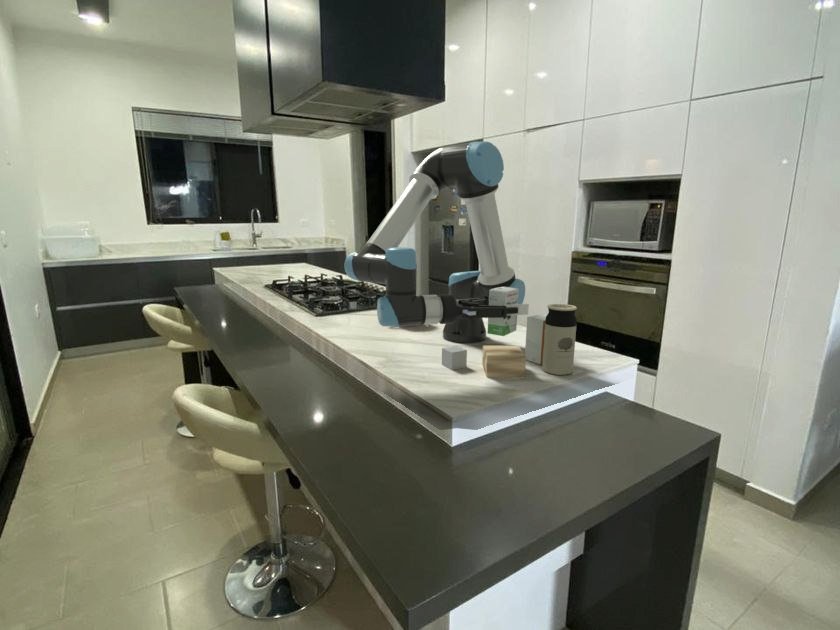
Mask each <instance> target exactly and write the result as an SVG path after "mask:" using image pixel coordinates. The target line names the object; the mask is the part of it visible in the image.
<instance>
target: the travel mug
mask: <svg viewBox="0 0 840 630" xmlns="http://www.w3.org/2000/svg"><path fill="white" fill-rule="evenodd" d="M547 309H548V313H546V314H547V316H546V320H545V335H544V351H543V364H542V366H541V368H542V369H541V370H542V371H544V372H545V373H548V374H551V375H554V374H555V375H556V376H568V375H570V374H572V373H574V360H575V348H576V336H577V335H576V332H577V325H578V319H577V316H576V311H577V309H578V307H577V306H576V305H572V304H566V303H550V304H547ZM567 374H568V375H567Z"/></svg>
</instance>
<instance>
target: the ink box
mask: <svg viewBox="0 0 840 630" xmlns="http://www.w3.org/2000/svg"><path fill="white" fill-rule="evenodd" d="M518 293H519V289H518V288H510V287H498V288H494V289H490V290H489V305H495V306H504V305H508V304H518ZM517 325H518V315H508V316H507V317H506V319H503V318H487V331H486V334H488V335H493V336H498V337H499V336H500V337H505V336H507V335H510V334H512V333H514V332H516V331H517V328H518V327H517Z"/></svg>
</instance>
